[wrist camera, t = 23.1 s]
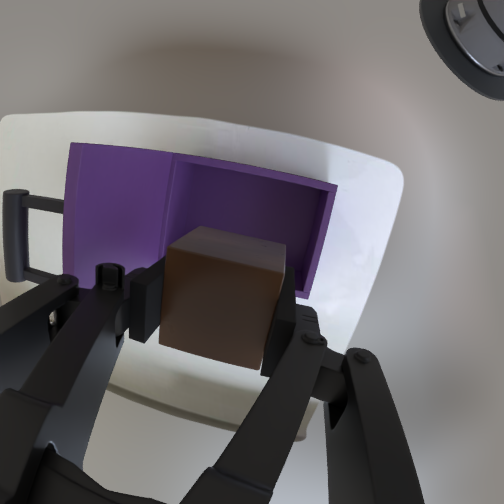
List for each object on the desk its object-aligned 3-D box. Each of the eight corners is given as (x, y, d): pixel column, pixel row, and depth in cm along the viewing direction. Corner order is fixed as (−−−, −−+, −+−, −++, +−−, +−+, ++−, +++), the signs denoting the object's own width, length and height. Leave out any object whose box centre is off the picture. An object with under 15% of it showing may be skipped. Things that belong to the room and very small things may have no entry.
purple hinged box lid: (83, 143, 12) (-14, 141, 11) (82, 363, 15) (-4, 328, 15) (173, 152, 29) (108, 145, 29) (157, 265, 33) (97, 252, 32)
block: (286, 244, 17) (285, 273, 12) (266, 322, 18) (259, 371, 13) (199, 225, 17) (166, 245, 12) (188, 302, 18) (158, 344, 14)
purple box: (328, 182, 36) (337, 185, 29) (304, 276, 40) (308, 299, 32) (193, 155, 37) (171, 152, 30) (178, 246, 41) (155, 263, 33)
